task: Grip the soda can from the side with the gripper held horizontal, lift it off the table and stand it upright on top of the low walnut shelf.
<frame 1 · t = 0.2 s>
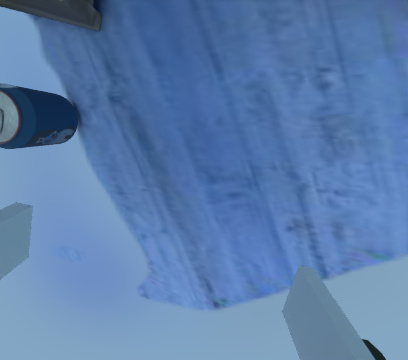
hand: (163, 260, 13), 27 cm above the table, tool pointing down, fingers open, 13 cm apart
soda can: (59, 119, 39), on the table
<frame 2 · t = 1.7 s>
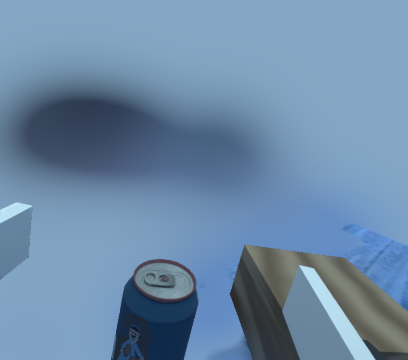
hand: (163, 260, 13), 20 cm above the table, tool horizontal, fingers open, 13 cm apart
shelf: (308, 344, 37), on the table
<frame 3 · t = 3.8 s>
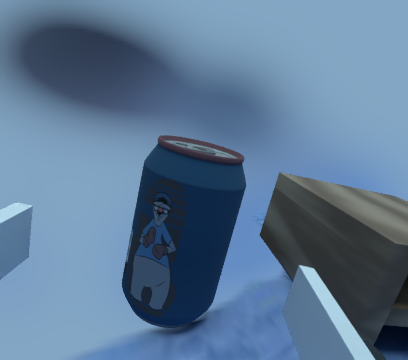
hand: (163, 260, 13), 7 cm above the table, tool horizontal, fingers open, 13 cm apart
soda can: (165, 300, 21), on the table
shelf: (362, 285, 30), on the table
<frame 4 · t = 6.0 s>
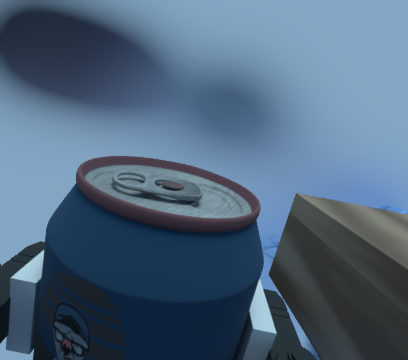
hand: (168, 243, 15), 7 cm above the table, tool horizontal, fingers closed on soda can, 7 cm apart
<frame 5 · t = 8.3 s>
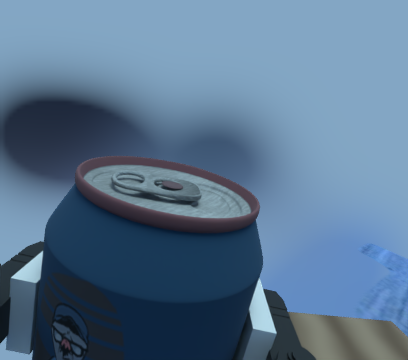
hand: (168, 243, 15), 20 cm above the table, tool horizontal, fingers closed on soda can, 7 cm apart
when the fingers open (17 cm above the table, at t = 10.5 s): soda can drops 1 cm, resting on shelf.
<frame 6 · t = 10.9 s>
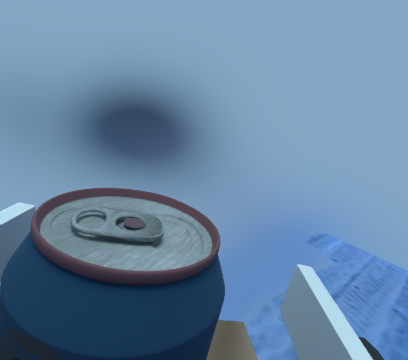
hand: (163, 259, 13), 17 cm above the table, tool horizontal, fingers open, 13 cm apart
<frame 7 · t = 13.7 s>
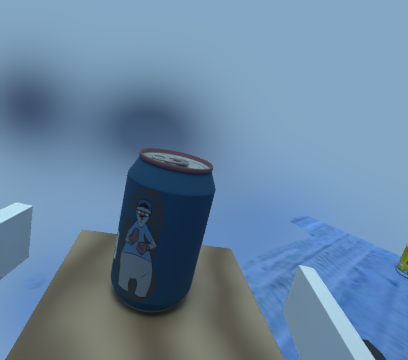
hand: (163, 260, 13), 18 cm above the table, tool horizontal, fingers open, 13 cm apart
soda can: (149, 290, 24), point 9 cm above the table, touching shelf
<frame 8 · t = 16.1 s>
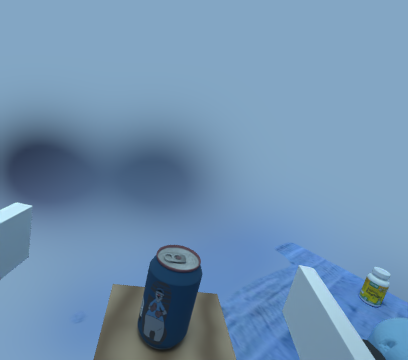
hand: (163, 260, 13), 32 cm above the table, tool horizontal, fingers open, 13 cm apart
supplement bottle: (368, 301, 75), on the table
soda can: (160, 333, 37), point 9 cm above the table, touching shelf
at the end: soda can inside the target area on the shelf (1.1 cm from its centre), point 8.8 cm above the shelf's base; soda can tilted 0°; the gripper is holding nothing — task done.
